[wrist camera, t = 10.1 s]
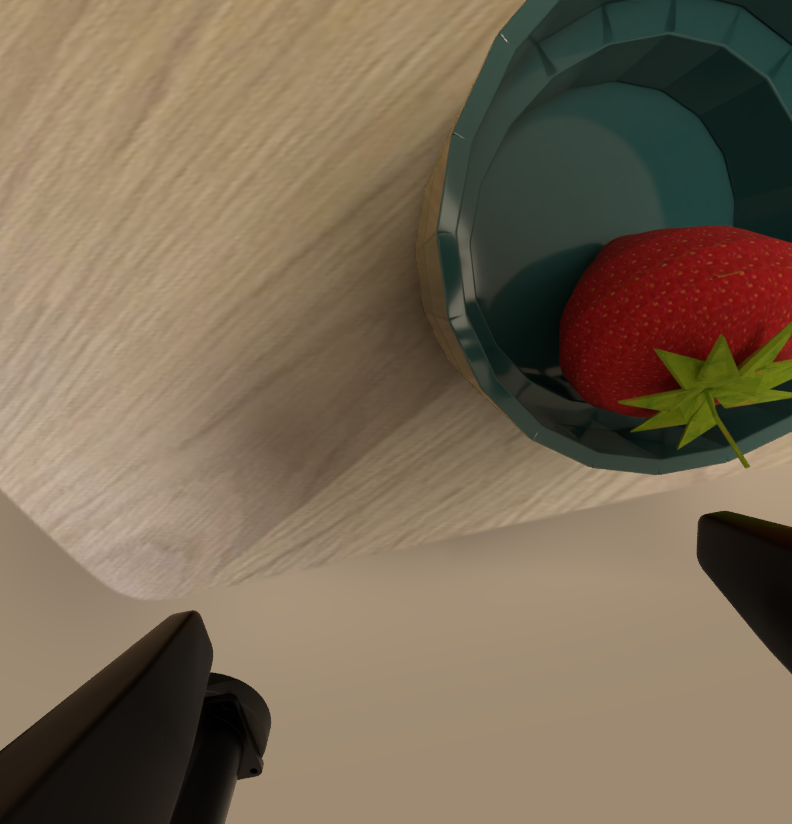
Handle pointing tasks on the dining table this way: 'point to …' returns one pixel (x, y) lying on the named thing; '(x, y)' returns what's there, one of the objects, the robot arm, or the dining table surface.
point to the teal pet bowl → (602, 196)
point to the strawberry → (681, 326)
